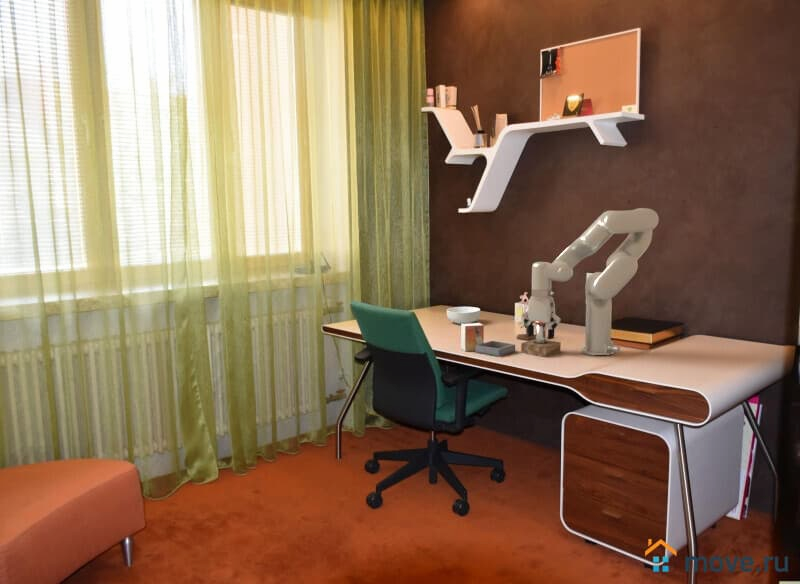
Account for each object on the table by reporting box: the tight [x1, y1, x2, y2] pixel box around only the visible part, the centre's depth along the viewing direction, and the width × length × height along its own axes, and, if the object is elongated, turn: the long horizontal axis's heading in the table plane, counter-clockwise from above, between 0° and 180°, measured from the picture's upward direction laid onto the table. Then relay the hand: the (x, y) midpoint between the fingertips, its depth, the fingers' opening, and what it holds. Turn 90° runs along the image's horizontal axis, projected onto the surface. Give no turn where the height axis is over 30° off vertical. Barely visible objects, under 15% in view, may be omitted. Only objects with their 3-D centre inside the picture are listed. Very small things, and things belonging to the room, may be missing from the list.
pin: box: [533, 321, 547, 345], centre depth 257 cm, size 5×5×13 cm
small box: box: [460, 322, 485, 352], centre depth 264 cm, size 8×6×10 cm
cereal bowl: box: [446, 306, 481, 325], centre depth 322 cm, size 17×17×7 cm
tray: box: [475, 340, 516, 358], centre depth 259 cm, size 11×11×3 cm
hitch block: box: [520, 339, 561, 358], centre depth 257 cm, size 11×11×4 cm
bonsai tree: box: [516, 315, 536, 342], centre depth 284 cm, size 11×9×12 cm
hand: (540, 337), depth 257 cm, fingers open, 8 cm apart
